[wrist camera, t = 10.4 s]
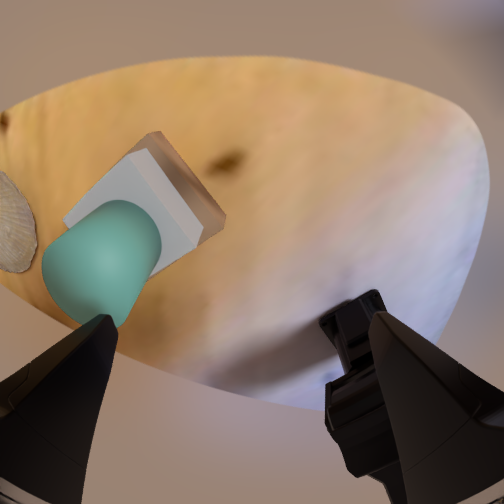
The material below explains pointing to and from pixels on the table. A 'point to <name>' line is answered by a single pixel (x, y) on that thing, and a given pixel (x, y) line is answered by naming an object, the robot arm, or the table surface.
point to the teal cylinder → (102, 262)
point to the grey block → (145, 203)
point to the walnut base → (183, 185)
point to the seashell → (15, 228)
